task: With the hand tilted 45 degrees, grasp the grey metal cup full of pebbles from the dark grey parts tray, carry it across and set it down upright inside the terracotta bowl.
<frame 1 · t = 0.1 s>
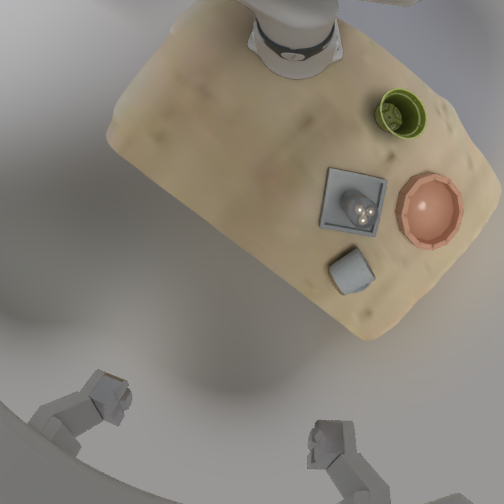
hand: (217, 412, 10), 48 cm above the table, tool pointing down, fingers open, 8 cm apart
terracotta bowl: (427, 209, 49), on the table
ceramic mug: (352, 268, 58), on the table
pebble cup: (352, 202, 51), point 1 cm above the table, touching parts tray
plant pot: (388, 117, 44), on the table
parts tray: (352, 201, 52), on the table
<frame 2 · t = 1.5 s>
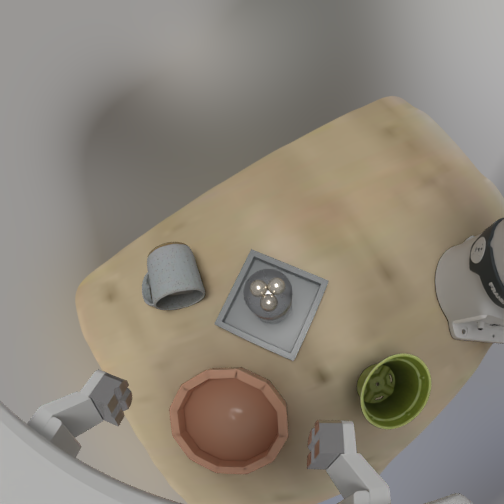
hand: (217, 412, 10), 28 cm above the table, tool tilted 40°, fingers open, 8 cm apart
terracotta bowl: (231, 419, 34), on the table
ceramic mug: (176, 287, 42), on the table
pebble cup: (272, 304, 38), point 1 cm above the table, touching parts tray
plant pot: (375, 384, 33), on the table
parts tray: (272, 305, 39), on the table
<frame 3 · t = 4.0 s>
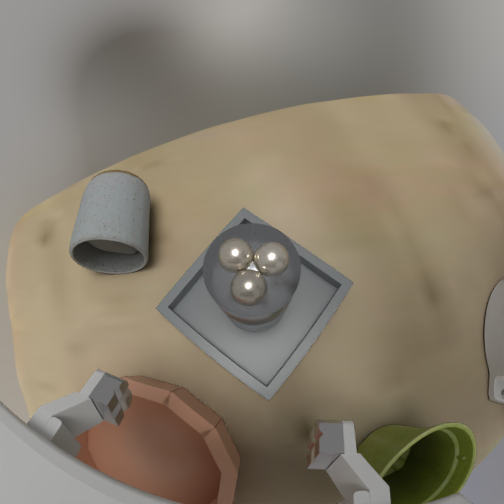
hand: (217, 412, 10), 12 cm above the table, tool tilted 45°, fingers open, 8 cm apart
terracotta bowl: (152, 456, 18), on the table
ceramic mug: (118, 243, 27), on the table
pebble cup: (255, 301, 23), point 1 cm above the table, touching parts tray
plant pot: (382, 452, 18), on the table
parts tray: (255, 302, 24), on the table
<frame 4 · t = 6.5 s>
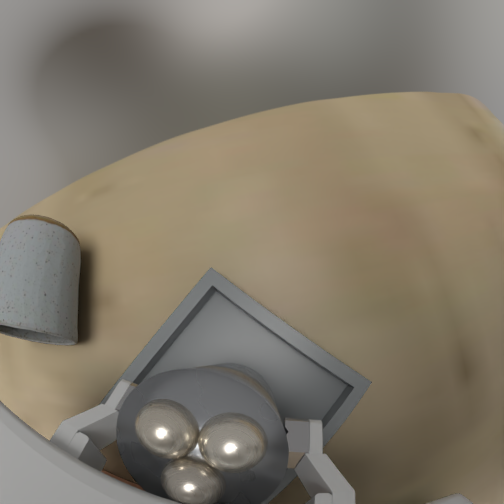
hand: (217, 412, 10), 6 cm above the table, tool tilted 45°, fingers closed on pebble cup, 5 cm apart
ceramic mug: (53, 301, 18), on the table
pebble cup: (229, 404, 15), point 1 cm above the table, touching gripper, parts tray
parts tray: (230, 403, 15), on the table
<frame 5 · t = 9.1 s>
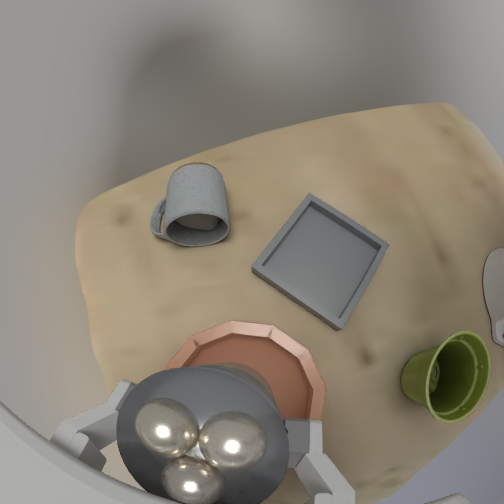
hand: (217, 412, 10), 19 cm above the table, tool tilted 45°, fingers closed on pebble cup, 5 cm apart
terracotta bowl: (244, 396, 27), on the table
ceramic mug: (193, 223, 35), on the table
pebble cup: (229, 404, 15), point 14 cm above the table, touching gripper
plant pot: (419, 376, 26), on the table
parts tray: (322, 261, 32), on the table
when the fingers open (8 cm above the table, at t = 11.7 s): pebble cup drops 1 cm, resting on terracotta bowl.
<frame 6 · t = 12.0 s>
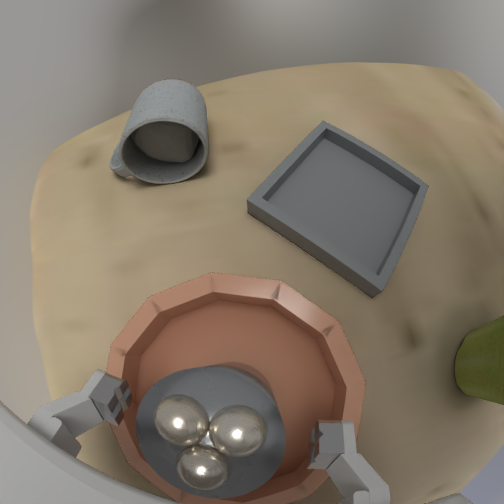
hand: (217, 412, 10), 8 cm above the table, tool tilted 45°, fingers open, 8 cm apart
terracotta bowl: (232, 398, 17), on the table
ceramic mug: (163, 158, 25), on the table
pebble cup: (232, 400, 16), point 1 cm above the table, touching terracotta bowl
plant pot: (473, 363, 16), on the table
parts tray: (345, 202, 22), on the table
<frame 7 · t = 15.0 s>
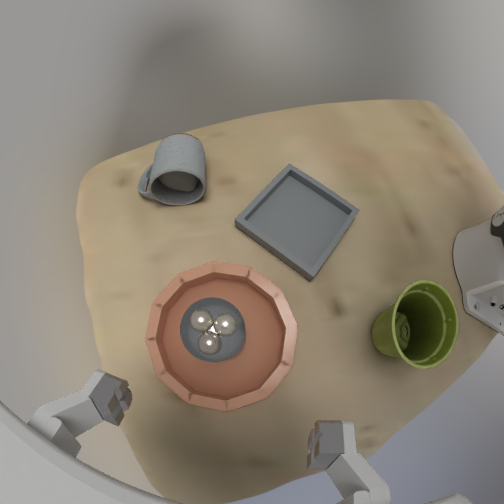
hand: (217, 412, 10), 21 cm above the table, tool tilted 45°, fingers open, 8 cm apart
terracotta bowl: (222, 337, 31), on the table
ceramic mug: (175, 186, 39), on the table
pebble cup: (222, 337, 30), point 1 cm above the table, touching terracotta bowl
plant pot: (390, 333, 31), on the table
parts tray: (298, 221, 36), on the table
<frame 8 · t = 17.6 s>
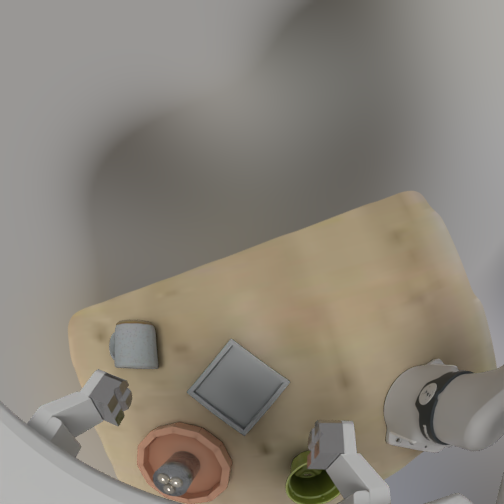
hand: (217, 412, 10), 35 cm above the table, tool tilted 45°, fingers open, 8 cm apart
terracotta bowl: (186, 461, 36), on the table
ceramic mug: (138, 349, 44), on the table
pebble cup: (185, 463, 35), point 1 cm above the table, touching terracotta bowl
plant pot: (308, 464, 35), on the table
parts tray: (238, 387, 41), on the table
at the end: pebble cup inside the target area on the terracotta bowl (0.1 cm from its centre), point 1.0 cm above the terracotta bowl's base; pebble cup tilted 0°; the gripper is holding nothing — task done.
